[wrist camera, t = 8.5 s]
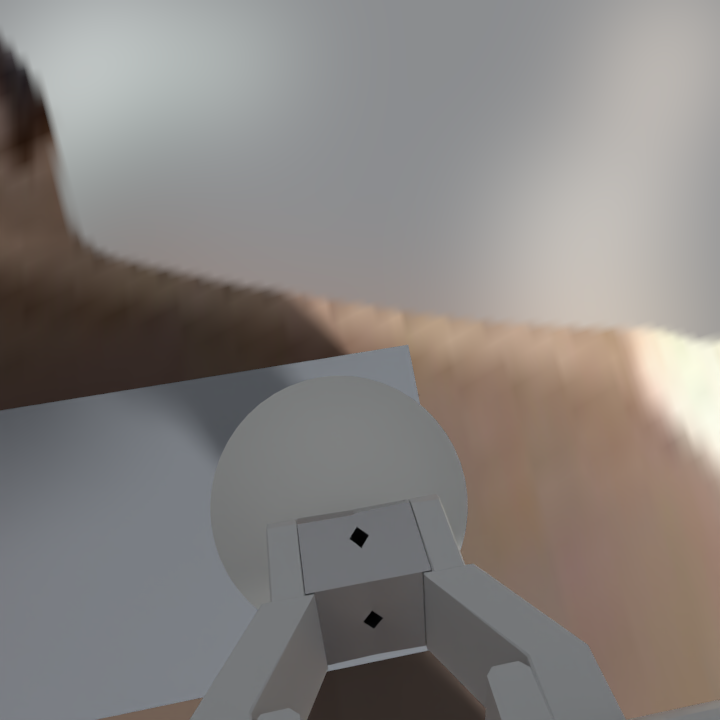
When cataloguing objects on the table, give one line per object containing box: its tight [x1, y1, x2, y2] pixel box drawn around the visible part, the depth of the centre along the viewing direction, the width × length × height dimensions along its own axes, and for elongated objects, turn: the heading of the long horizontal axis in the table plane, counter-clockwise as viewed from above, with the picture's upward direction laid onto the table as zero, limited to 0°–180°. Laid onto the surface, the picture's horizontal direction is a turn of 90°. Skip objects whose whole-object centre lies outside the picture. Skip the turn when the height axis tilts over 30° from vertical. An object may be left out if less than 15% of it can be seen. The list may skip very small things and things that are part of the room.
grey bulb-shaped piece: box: [210, 376, 468, 609], centre depth 20 cm, size 5×5×14 cm
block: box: [0, 345, 428, 720], centre depth 26 cm, size 22×10×10 cm, turn 100°
